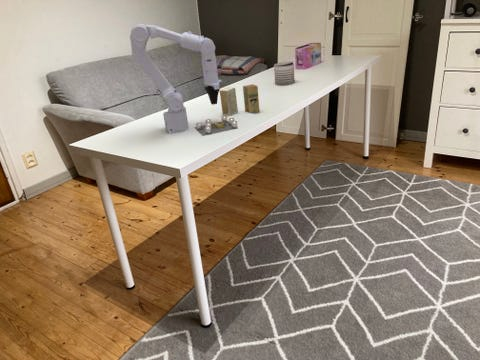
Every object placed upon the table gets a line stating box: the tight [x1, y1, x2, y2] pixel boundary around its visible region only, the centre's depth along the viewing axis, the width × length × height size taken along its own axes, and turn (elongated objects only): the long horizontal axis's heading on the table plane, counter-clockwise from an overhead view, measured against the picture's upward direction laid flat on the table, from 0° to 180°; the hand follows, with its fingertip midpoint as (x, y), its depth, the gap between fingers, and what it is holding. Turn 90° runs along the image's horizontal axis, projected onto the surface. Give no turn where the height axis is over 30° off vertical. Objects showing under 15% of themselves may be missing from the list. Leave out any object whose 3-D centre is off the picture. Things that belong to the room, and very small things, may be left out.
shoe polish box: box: [242, 84, 260, 115], centre depth 177 cm, size 5×5×12 cm
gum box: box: [294, 42, 322, 70], centre depth 265 cm, size 24×8×14 cm, turn 142°
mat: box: [193, 119, 239, 137], centre depth 161 cm, size 15×13×1 cm
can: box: [273, 60, 296, 87], centre depth 223 cm, size 11×11×12 cm
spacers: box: [195, 115, 239, 135], centre depth 160 cm, size 15×12×2 cm
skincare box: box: [219, 86, 239, 117], centre depth 175 cm, size 6×4×12 cm
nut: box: [214, 120, 226, 129], centre depth 161 cm, size 4×5×2 cm
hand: (214, 103), depth 162 cm, fingers closed
